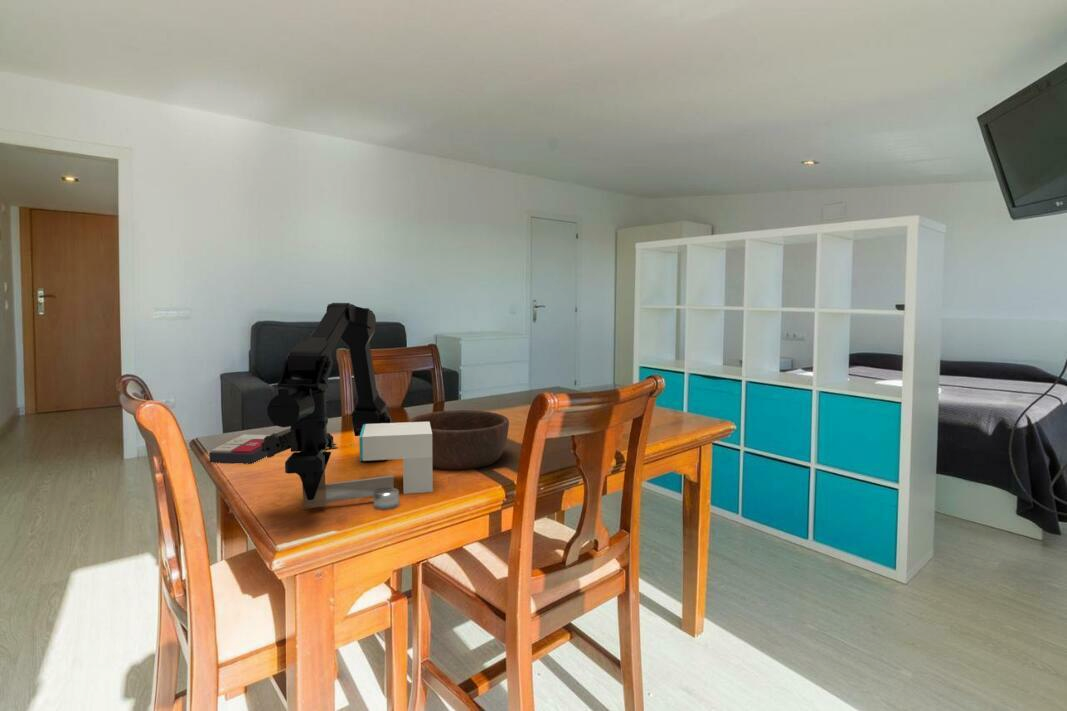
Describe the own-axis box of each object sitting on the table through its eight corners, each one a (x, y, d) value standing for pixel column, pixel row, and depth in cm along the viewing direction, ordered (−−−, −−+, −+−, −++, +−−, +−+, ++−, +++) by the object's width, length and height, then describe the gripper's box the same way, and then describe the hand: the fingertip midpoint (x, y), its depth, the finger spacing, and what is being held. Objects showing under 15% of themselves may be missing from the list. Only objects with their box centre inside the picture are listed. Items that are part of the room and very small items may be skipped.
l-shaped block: (364, 478, 131) (363, 423, 130) (429, 474, 134) (429, 421, 133) (360, 496, 119) (359, 436, 118) (432, 492, 122) (432, 433, 121)
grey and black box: (208, 449, 142) (242, 432, 156) (209, 466, 142) (243, 447, 157) (251, 451, 141) (282, 433, 156) (252, 468, 141) (283, 448, 156)
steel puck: (372, 503, 116) (371, 489, 115) (396, 499, 118) (396, 486, 117) (376, 511, 111) (375, 497, 111) (401, 507, 113) (401, 493, 113)
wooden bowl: (521, 450, 156) (521, 413, 155) (489, 478, 132) (489, 434, 131) (435, 443, 163) (435, 407, 162) (390, 468, 139) (389, 426, 138)
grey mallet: (303, 500, 113) (301, 466, 112) (391, 488, 120) (391, 456, 118) (303, 508, 109) (302, 473, 108) (395, 496, 116) (394, 462, 115)
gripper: (274, 407, 117) (277, 482, 119) (251, 428, 99) (255, 516, 101) (332, 405, 120) (334, 479, 121) (320, 425, 102) (323, 512, 103)
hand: (312, 495), depth 111 cm, fingers closed on grey mallet, 4 cm apart
